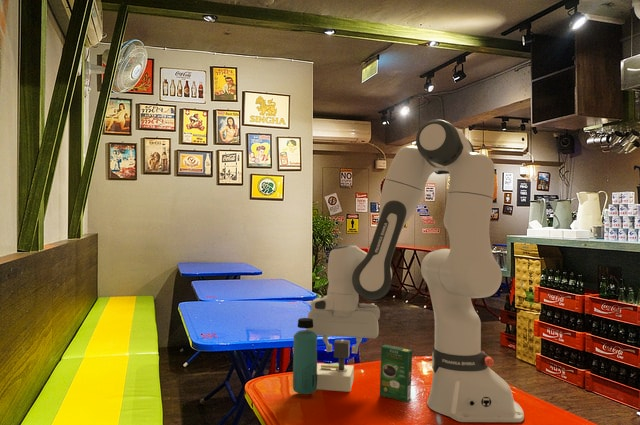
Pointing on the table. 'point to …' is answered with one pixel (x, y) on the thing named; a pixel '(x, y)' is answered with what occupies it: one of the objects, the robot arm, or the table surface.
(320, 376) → the cream square baseplate
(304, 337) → the beverage bottle
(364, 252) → the robot arm
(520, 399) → the table surface
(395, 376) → the coffee box
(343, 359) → the dark box with stem
